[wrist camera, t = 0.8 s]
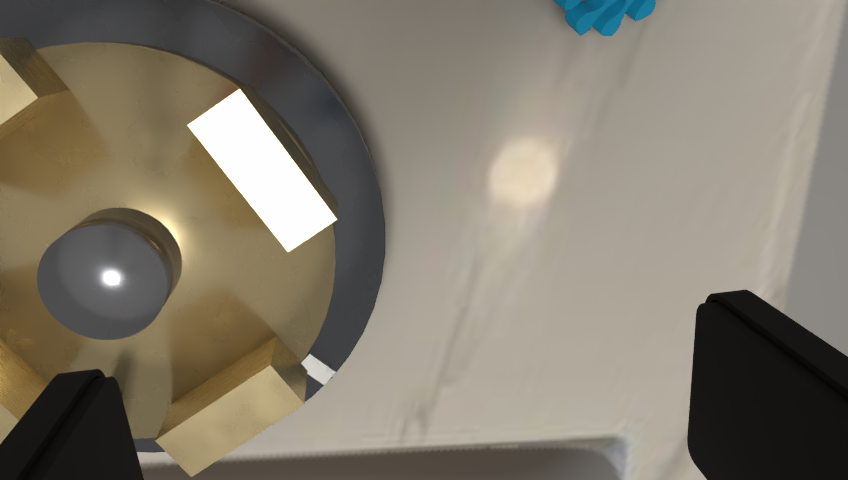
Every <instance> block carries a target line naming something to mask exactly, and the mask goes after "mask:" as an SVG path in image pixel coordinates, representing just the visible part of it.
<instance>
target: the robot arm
mask: <svg viewBox="0 0 848 480" xmlns="http://www.w3.org/2000/svg"><path fill="white" fill-rule="evenodd" d="M687 439H688V449H689V453H690V456H691V458H692V460H693V462H694V463H695V465H696V466H697V467H698V469H699V470H700V471H701V472H702V474H703V475H704V476H705V477H706V479H707V480H848V357H847V356H846V355H844V354H843V353H841V352H840V351H838V350H837V349H835V348H834V347H832V346H831V345H829V344H828V343H826V342H825V341H823V340H822V339H820V338H819V337H817V336H816V335H814V334H813V333H811V332H810V331H808V330H807V329H805V328H804V327H802V326H801V325H800V324H798V323H797V322H795V321H794V320H792V319H790V318H789V317H788V316H786V315H785V314H783V313H782V312H780V311H779V310H777V309H776V308H774V307H773V306H771V305H770V304H768V303H767V302H765V301H764V300H762V299H761V298H759V297H758V296H756V295H755V294H753V293H752V292H750V291H748V290H739V291H731V292H723V293H715V294H710V295H709V296H708V297H707V299H706V302H705V303H703V304H700V305H699V307H698V309H697V313H696V325H695V340H694V354H693V368H692V382H691V396H690V410H689V424H688V438H687ZM0 480H144V479H143V475H142V471H141V467H140V464H139V460H138V456H137V452H136V448H135V445H134V441H133V437H132V433H131V430H130V426H129V422H128V418H127V414H126V411H125V407H124V403H123V399H122V396H121V392H120V388H119V385H118V382H117V380H116V379H115V378H114V377H113V376H111V377H105V375H104V373H103V372H102V371H101V370H100V369H92V370H84V371H75V372H67V373H59V374H57V375H56V376H55V377H54V378H53V379H52V380H51V382H50V383H49V384H48V385H47V387H46V388H45V389H44V390H43V392H42V393H41V394H40V395H39V397H38V398H37V399H36V400H35V402H34V403H33V404H32V405H31V407H30V408H29V409H28V410H27V412H26V413H25V414H24V415H23V417H22V418H21V419H20V420H19V421H18V423H17V424H16V425H15V426H14V428H13V429H12V430H11V431H10V433H9V434H8V435H7V436H6V438H5V439H4V440H3V441H2V443H1V444H0Z"/></svg>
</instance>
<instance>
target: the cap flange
mask: <svg viewBox="0 0 848 480" xmlns="http://www.w3.org/2000/svg"><path fill="white" fill-rule="evenodd" d="M21 37H26V38H27V39H28V41H29V42H30V43H31V44H32V45H33V47H34V48H35V49H36V50H37V49H41V48H44V47H49V46H57V45H65V44H73V43H83V42H131V43H138V44H145V45H152V46H158V47H161V48H165V49H169V50H172V51H176V52H180V53H184V54H186V55H189V56H191V57H194V58H196V59H199V60H201V61H203V62H206V63H208V64H211V65H213V66H215V67H216V68H218V69H220V70H222V71H224V72H225V73H227V74H229V75H231V76H233V77H234V78H236V79H238V80H239V81H241V82H242V83H243V84H245V85H246V84H248V83H249V82H251V84H252V85H253V87H254V88H255V89H256V91H257V92H258V93H259V95H260V96H261V97H262V98H263V99H264V100H265V101H266V102H267V103H268V104H270V105H271V106H272V107H273V108H274V109H275V110H276V111H277V112H278V113H279V114H280V115H281V116H282V117H283V118H284V119H285V121H286V122H287V123H288V124H289V125H290V127H291V128H292V129H293V130H294V131H295V133H296V134H297V135H298V136H299V138H300V139H301V141H302V143H303V144H304V146H305V147H306V149H307V150H308V152H309V154H310V155H311V157H312V158H313V160H314V162H315V165H316V167H317V169H318V171H319V173H320V175H321V177H322V180H323V182H324V183H325V184H326V186H327V187H328V188H329V190H330V191H331V193H332V194H333V195H334V197H335V198H336V199H337V201H338V206H337V220H336V221H334V226H335V240H336V266H335V276H334V285H333V292H332V296H331V300H330V304H329V308H328V312H327V315H326V318H325V320H324V322H323V325H322V327H321V330H320V332H319V334H318V337H317V338H316V340H315V342H314V343H313V345H312V347H311V348H310V350H309V352H308V354H307V355H306V357H305V358H304V359H303V361H302V362H301V364H302V365H303V366H304V367H305V368H306V370H307V371H308V373H307V382H306V392H305V401H307V400H308V399H309V398H311V397H312V396H313V395H314V394H315V393H316V392H317V391H318V390H319V389H320V388H321V387H323V386H324V385H325V384H326V383H327V382H328V381H329V380H330V379H331V378H332V377H333V375H334V374H335V373H336V372H337V371H338V369H339V368H340V367H341V366H342V364H343V363H344V362H345V361H346V359H347V358H348V357H349V355H350V354H351V352H352V350H353V349H354V347H355V345H356V344H357V342H358V340H359V339H360V337H361V336H362V334H363V332H364V329H365V327H366V325H367V323H368V320H369V318H370V316H371V313H372V311H373V309H374V306H375V302H376V298H377V295H378V291H379V288H380V284H381V280H382V272H383V265H384V257H385V221H384V214H383V207H382V200H381V193H380V189H379V184H378V180H377V176H376V173H375V169H374V166H373V162H372V159H371V155H370V152H369V149H368V147H367V145H366V143H365V140H364V138H363V136H362V133H361V131H360V129H359V126H358V124H357V123H356V121H355V119H354V118H353V116H352V114H351V113H350V111H349V109H348V108H347V106H346V104H345V103H344V101H343V99H342V98H341V97H340V95H339V94H338V93H337V92H336V90H335V89H334V88H333V86H332V85H331V84H330V83H329V81H328V80H327V79H326V78H325V76H324V75H323V74H322V73H321V72H320V71H319V70H318V69H317V68H316V67H315V66H314V65H313V64H312V63H311V62H310V61H309V60H308V59H307V58H306V57H305V56H304V55H303V54H302V53H301V52H300V51H299V50H298V49H296V48H295V47H294V46H292V45H291V44H290V43H288V42H287V41H286V40H284V39H283V38H282V37H281V36H279V35H278V34H277V33H275V32H274V31H273V30H271V29H269V28H268V27H266V26H264V25H262V24H261V23H259V22H257V21H256V20H254V19H252V18H251V17H249V16H247V15H245V14H244V13H241V12H239V11H237V10H234V9H232V8H230V7H227V6H225V5H223V4H220V3H218V2H216V1H213V0H0V38H21ZM155 439H156V438H140V439H134V438H133V441H134V445H135V448H136V452H166V451H165V450H164V449H163V448H162V447H161V446H160V445H159V444H158V443H157V442H156V441H155Z"/></svg>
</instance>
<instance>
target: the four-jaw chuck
mask: <svg viewBox="0 0 848 480" xmlns="http://www.w3.org/2000/svg"><path fill="white" fill-rule="evenodd" d="M337 206H338V201H337V199H336V198H335V197H334V195H333V194H332V193H331V191H330V190H329V188H328V187H327V186H326V184H325V183H324V182H323V180H322V177H321V175H320V173H319V171H318V169H317V167H316V165H315V162H314V160H313V158H312V157H311V155H310V154H309V152H308V150H307V149H306V147H305V146H304V144H303V143H302V141H301V139H300V138H299V136H298V135H297V134H296V133H295V131H294V130H293V129H292V128H291V127H290V125H289V124H288V123H287V122H286V121H285V119H284V118H283V117H282V116H281V115H280V114H279V113H278V112H277V111H276V110H275V109H274V108H273V107H272V106H271V105H270V104H268V103H267V102H266V101H265V100H264V99H263V98H262V97H261V96H260V95H259V93H258V92H257V91H256V89H255V88H254V87H253V85H252V84H251V82H249V83H248V84H246V85H245V84H243V83H242V82H241V81H239V80H238V79H236V78H234V77H233V76H231V75H229V74H227V73H225V72H224V71H222V70H220V69H218V68H216V67H215V66H213V65H211V64H208V63H206V62H203V61H201V60H199V59H196V58H194V57H191V56H189V55H186V54H184V53H180V52H176V51H172V50H169V49H165V48H161V47H158V46H152V45H145V44H138V43H131V42H83V43H73V44H65V45H57V46H49V47H44V48H41V49H37V50H36V49H35V48H34V47H33V45H32V44H31V43H30V42H29V41H28V39H27V38H26V37H21V38H0V444H1V443H2V441H3V440H4V439H5V438H6V436H7V435H8V434H9V433H10V431H11V430H12V429H13V428H14V426H15V425H16V424H17V423H18V421H19V420H20V419H21V418H22V417H23V415H24V414H25V413H26V412H27V410H28V409H29V408H30V407H31V405H32V404H33V403H34V402H35V400H36V399H37V398H38V397H39V395H40V394H41V393H42V392H43V390H44V389H45V388H46V387H47V385H48V384H49V383H50V382H51V380H52V379H53V378H54V377H55V376H56V375H57V374H59V373H67V372H75V371H84V370H92V369H100V370H101V371H102V372H103V373H104V375H105V377H111V376H113V377H114V378H115V379H116V380H117V382H118V385H119V388H120V392H121V396H122V399H123V403H124V407H125V411H126V414H127V418H128V422H129V426H130V430H131V433H132V437H133V438H134V439H140V438H156V439H155V441H156V442H157V443H158V444H159V445H160V446H161V447H162V448H163V449H164V450H165V451H166V452H167V453H168V454H169V455H170V456H171V457H172V458H173V459H174V460H175V461H176V462H177V463H178V464H179V465H180V466H181V467H182V468H183V469H184V470H185V471H186V472H187V473H188V474H189V475H190V476H191V477H192V476H194V475H195V474H197V473H198V472H200V471H202V470H203V469H205V468H206V467H207V466H209V465H211V464H212V463H214V462H215V461H217V460H219V459H220V458H222V457H223V456H225V455H226V454H228V453H229V452H231V451H233V450H234V449H236V448H237V447H239V446H240V445H242V444H243V443H245V442H246V441H248V440H250V439H251V438H253V437H254V436H256V435H257V434H259V433H260V432H262V431H264V430H265V429H267V428H268V427H270V426H271V425H273V424H274V423H276V422H277V421H279V420H281V419H282V418H284V417H285V416H287V415H288V414H290V413H291V412H293V411H295V410H296V409H298V408H299V407H301V406H302V405H304V402H305V392H306V382H307V373H308V371H307V370H306V368H305V367H304V366H303V365H302V364H301V362H302V361H303V359H304V358H305V357H306V355H307V354H308V352H309V350H310V348H311V347H312V345H313V343H314V342H315V340H316V338H317V337H318V334H319V332H320V330H321V327H322V325H323V322H324V320H325V318H326V315H327V312H328V308H329V304H330V300H331V296H332V292H333V285H334V276H335V266H336V240H335V226H334V221H336V220H337Z"/></svg>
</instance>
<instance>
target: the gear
mask: <svg viewBox="0 0 848 480" xmlns="http://www.w3.org/2000/svg"><path fill="white" fill-rule="evenodd" d="M554 1H555V2H556V3H557V4H558V5H560V6H561V7H562V8H563V9H564V10H567V12H566V13H565V18H566V21H567V23H568V24H569V26H570V27H572V28H573V29H574V30H575V31H576V32H577V33H578V34H579V35H580V36H581V35H583V34H584V33H586V32H587V31H588V30H589V29H590V27H591V26H593V27H594V28H595V29H596V30H597V31H598V32H600V33H601V34H602V35H604V36H612V35H613V34H614V33H615V32H616V31H617V29H618V28H619V26H620V23H621V20H622V18H623V16H624V14H625V13H626V14H628V15H629V16H630V17H631V18H632V19H634V20H635V21H637V20H640V19H643V18H645V17H646V16H648V15H650V14H651V13H652V11H653V9H654V7H655V0H586V1H583V2H581V1H582V0H554Z"/></svg>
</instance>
